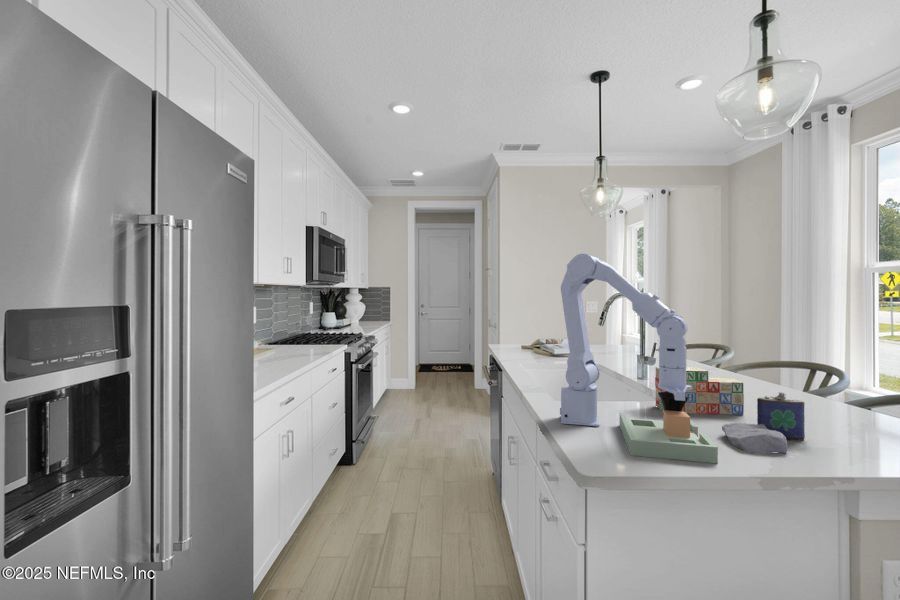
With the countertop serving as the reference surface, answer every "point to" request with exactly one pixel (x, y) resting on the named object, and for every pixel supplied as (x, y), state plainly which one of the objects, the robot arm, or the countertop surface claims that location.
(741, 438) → the stone block
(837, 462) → the countertop surface
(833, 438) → the countertop surface
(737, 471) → the countertop surface
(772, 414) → the flask
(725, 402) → the stack of blocks
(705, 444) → the board
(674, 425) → the block
